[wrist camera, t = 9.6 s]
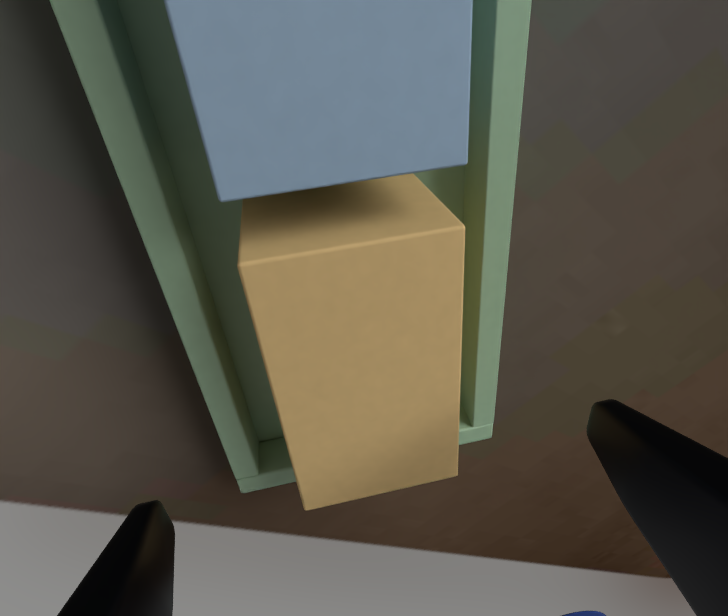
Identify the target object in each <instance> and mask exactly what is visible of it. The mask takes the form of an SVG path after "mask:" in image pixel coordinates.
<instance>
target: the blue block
mask: <svg viewBox="0 0 728 616" xmlns="http://www.w3.org/2000/svg"><path fill="white" fill-rule="evenodd" d="M164 4H165V7H166V11H167V15H168V18H169V22H170V26H171V29H172V33H173V37H174V40H175V44H176V47H177V51H178V55H179V58H180V62H181V66H182V69H183V73H184V76H185V80H186V84H187V87H188V91H189V95H190V98H191V102H192V105H193V109H194V113H195V116H196V120H197V124H198V127H199V131H200V134H201V138H202V142H203V145H204V149H205V153H206V156H207V160H208V163H209V167H210V171H211V174H212V178H213V182H214V185H215V189H216V192H217V196H218V199H219V200H220V202H228V201H235V200H241V199H248V198H254V197H261V196H267V195H274V194H281V193H287V192H294V191H300V190H307V189H313V188H320V187H326V186H333V185H339V184H346V183H352V182H359V181H365V180H372V179H378V178H385V177H391V176H398V175H404V174H411V173H417V172H424V171H430V170H437V169H443V168H450V167H456V166H463V165H466V164H467V162H468V135H469V103H470V71H471V40H472V8H473V0H164Z"/></svg>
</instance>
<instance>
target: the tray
mask: <svg viewBox="0 0 728 616" xmlns="http://www.w3.org/2000/svg"><path fill="white" fill-rule="evenodd" d="M531 1H532V0H473V8H472V40H471V71H470V103H469V135H468V162H467V164H466V165H463V166H456V167H450V168H443V169H437V170H430V171H424V172H417V173H413V174H414V175H415V176H416V177H417V178H418V179H419V180H420V181H421V182H422V183H423V184H424V185H425V186H426V187H427V188H428V189H429V190H430V191H431V192H432V193H433V194H434V195H435V196H436V197H437V198H438V199H439V200H440V201H441V202H442V203H443V204H444V205H445V206H446V207H447V208H448V209H449V210H450V211H451V212H452V213H453V214H454V215H455V216H456V217H457V218H458V219H459V220H460V221H461V222H462V223H463V224H464V226H465V255H464V287H463V320H462V352H461V384H460V416H459V445H461V444H466V443H470V442H475V441H479V440H484V439H488V438H491V437H492V428H493V423H494V412H495V401H496V390H497V379H498V368H499V357H500V345H501V334H502V323H503V312H504V301H505V290H506V279H507V268H508V257H509V245H510V234H511V223H512V212H513V201H514V190H515V179H516V168H517V157H518V145H519V134H520V123H521V112H522V101H523V90H524V79H525V68H526V57H527V46H528V34H529V23H530V12H531ZM50 3H51V6H52V8H53V11H54V13H55V16H56V18H57V21H58V24H59V26H60V29H61V31H62V34H63V36H64V39H65V42H66V44H67V47H68V49H69V52H70V54H71V57H72V60H73V62H74V65H75V67H76V70H77V72H78V75H79V78H80V80H81V83H82V85H83V88H84V90H85V93H86V96H87V98H88V101H89V103H90V106H91V108H92V111H93V114H94V116H95V119H96V121H97V124H98V126H99V129H100V132H101V134H102V137H103V139H104V142H105V144H106V147H107V150H108V152H109V155H110V157H111V160H112V162H113V165H114V168H115V170H116V173H117V175H118V178H119V180H120V183H121V186H122V188H123V191H124V193H125V196H126V198H127V201H128V204H129V206H130V209H131V211H132V214H133V216H134V219H135V222H136V224H137V227H138V229H139V232H140V234H141V237H142V240H143V242H144V245H145V247H146V250H147V252H148V255H149V258H150V260H151V263H152V265H153V268H154V270H155V273H156V276H157V278H158V281H159V283H160V286H161V288H162V291H163V294H164V296H165V299H166V301H167V304H168V306H169V309H170V312H171V314H172V317H173V319H174V322H175V324H176V327H177V330H178V332H179V335H180V337H181V340H182V342H183V345H184V348H185V350H186V353H187V355H188V358H189V360H190V363H191V366H192V368H193V371H194V373H195V376H196V378H197V381H198V384H199V386H200V389H201V391H202V394H203V396H204V399H205V402H206V404H207V407H208V409H209V412H210V414H211V417H212V420H213V422H214V425H215V427H216V430H217V432H218V435H219V437H220V440H221V443H222V445H223V448H224V450H225V453H226V455H227V458H228V461H229V463H230V466H231V468H232V471H233V473H234V476H235V478H236V481H237V483H238V486H239V488H240V491H241V493H247V492H251V491H256V490H260V489H265V488H269V487H274V486H278V485H283V484H287V483H292V482H296V478H295V475H294V471H293V467H292V464H291V460H290V457H289V453H288V449H287V446H286V442H285V438H284V435H283V431H282V427H281V424H280V420H279V417H278V413H277V409H276V406H275V402H274V398H273V395H272V391H271V388H270V384H269V380H268V377H267V373H266V369H265V366H264V362H263V358H262V355H261V351H260V348H259V344H258V340H257V337H256V333H255V329H254V326H253V322H252V319H251V315H250V311H249V308H248V304H247V300H246V297H245V293H244V290H243V286H242V282H241V279H240V275H239V271H238V268H237V262H238V250H239V238H240V226H241V214H242V202H243V199H241V200H235V201H228V202H220V200H219V199H218V196H217V192H216V189H215V185H214V182H213V178H212V174H211V171H210V167H209V163H208V160H207V156H206V153H205V149H204V145H203V142H202V138H201V134H200V131H199V127H198V124H197V120H196V116H195V113H194V109H193V105H192V102H191V98H190V95H189V91H188V87H187V84H186V80H185V76H184V73H183V69H182V66H181V62H180V58H179V55H178V51H177V47H176V44H175V40H174V37H173V33H172V29H171V26H170V22H169V18H168V15H167V11H166V7H165V4H164V0H50Z"/></svg>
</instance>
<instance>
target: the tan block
mask: <svg viewBox="0 0 728 616" xmlns="http://www.w3.org/2000/svg"><path fill="white" fill-rule="evenodd" d="M464 255H465V226H464V224H463V223H462V222H461V221H460V220H459V219H458V218H457V217H456V216H455V215H454V214H453V213H452V212H451V211H450V210H449V209H448V208H447V207H446V206H445V205H444V204H443V203H442V202H441V201H440V200H439V199H438V198H437V197H436V196H435V195H434V194H433V193H432V192H431V191H430V190H429V189H428V188H427V187H426V186H425V185H424V184H423V183H422V182H421V181H420V180H419V179H418V178H417V177H416V176H415V175H414V174H413V173H411V174H404V175H398V176H391V177H385V178H378V179H372V180H365V181H359V182H352V183H346V184H339V185H333V186H326V187H320V188H313V189H307V190H300V191H294V192H287V193H281V194H274V195H267V196H261V197H254V198H248V199H243V202H242V214H241V226H240V238H239V250H238V262H237V268H238V271H239V275H240V279H241V282H242V286H243V290H244V293H245V297H246V300H247V304H248V308H249V311H250V315H251V319H252V322H253V326H254V329H255V333H256V337H257V340H258V344H259V348H260V351H261V355H262V358H263V362H264V366H265V369H266V373H267V377H268V380H269V384H270V388H271V391H272V395H273V398H274V402H275V406H276V409H277V413H278V417H279V420H280V424H281V427H282V431H283V435H284V438H285V442H286V446H287V449H288V453H289V457H290V460H291V464H292V467H293V471H294V475H295V478H296V482H297V486H298V489H299V493H300V496H301V500H302V504H303V507H304V509H305V510H306V511H308V510H312V509H317V508H321V507H325V506H330V505H334V504H338V503H343V502H347V501H351V500H356V499H360V498H364V497H368V496H373V495H377V494H381V493H386V492H390V491H394V490H399V489H403V488H407V487H412V486H416V485H420V484H425V483H429V482H433V481H438V480H442V479H446V478H450V477H455V476H457V475H458V448H459V416H460V384H461V352H462V320H463V287H464Z"/></svg>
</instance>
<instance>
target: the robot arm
mask: <svg viewBox="0 0 728 616" xmlns="http://www.w3.org/2000/svg"><path fill="white" fill-rule="evenodd" d="M587 436H588V439H589V441H590V443H591V445H592V447H593V449H594V450H595V452H596V454H597V456H598V458H599V460H600V462H601V464H602V466H603V467H604V469H605V471H606V473H607V475H608V477H609V479H610V481H611V483H612V484H613V486H614V488H615V490H616V492H617V494H618V496H619V497H620V499H621V501H622V503H623V505H624V506H625V508H626V509H627V511H628V513H629V514H630V516H631V517H632V519H633V520H634V522H635V523H636V525H637V526H638V528H639V529H640V531H641V532H642V534H643V535H644V537H645V538H646V540H647V541H648V543H649V544H650V546H651V547H652V549H653V550H654V552H655V554H656V555H657V557H658V558H659V560H660V561H661V563H662V564H663V566H664V567H665V569H666V570H667V572H668V573H669V575H670V576H671V578H672V579H673V581H674V582H675V584H676V585H677V587H678V588H679V590H680V591H681V593H682V594H683V596H684V597H685V599H686V600H687V602H688V603H689V605H690V606H691V608H692V609H693V611H694V612H695V614H696V615H697V616H728V458H726V457H724V456H722V455H720V454H719V453H717V452H715V451H713V450H711V449H709V448H707V447H705V446H703V445H701V444H699V443H697V442H695V441H694V440H692V439H690V438H688V437H686V436H684V435H682V434H680V433H678V432H676V431H674V430H672V429H670V428H669V427H667V426H665V425H663V424H661V423H659V422H657V421H655V420H653V419H651V418H649V417H647V416H646V415H644V414H642V413H640V412H638V411H636V410H634V409H632V408H630V407H628V406H626V405H624V404H622V403H621V402H619V401H616V400H613V399H609V400H604V401H600V402H596V403H595V404H594V405H593V406H592V409H591V413H590V417H589V421H588V425H587ZM174 547H175V531H174V526H173V523H172V521H171V519H170V518H169V516H168V514H167V512H166V510H165V509H164V507H163V505H162V503H161V502H160V501H158V500H154V501H150V502H145V503H141V504H138V505H136V506H135V507H134V508H133V509H132V511H131V512H130V513H129V515H128V516H127V518H126V519H125V521H124V522H123V523H122V525H121V526H120V528H119V529H118V530H117V532H116V533H115V535H114V536H113V538H112V539H111V540H110V542H109V543H108V545H107V546H106V547H105V549H104V550H103V552H102V553H101V554H100V556H99V558H98V559H97V560H96V562H95V563H94V564H93V566H92V567H91V569H90V570H89V571H88V573H87V574H86V576H85V577H84V578H83V580H82V581H81V583H80V584H79V586H78V587H77V588H76V590H75V591H74V593H73V594H72V595H71V597H70V598H69V600H68V601H67V603H66V604H65V605H64V607H63V608H62V610H61V611H60V613H59V614H58V615H57V616H172V610H173V581H174Z"/></svg>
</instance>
